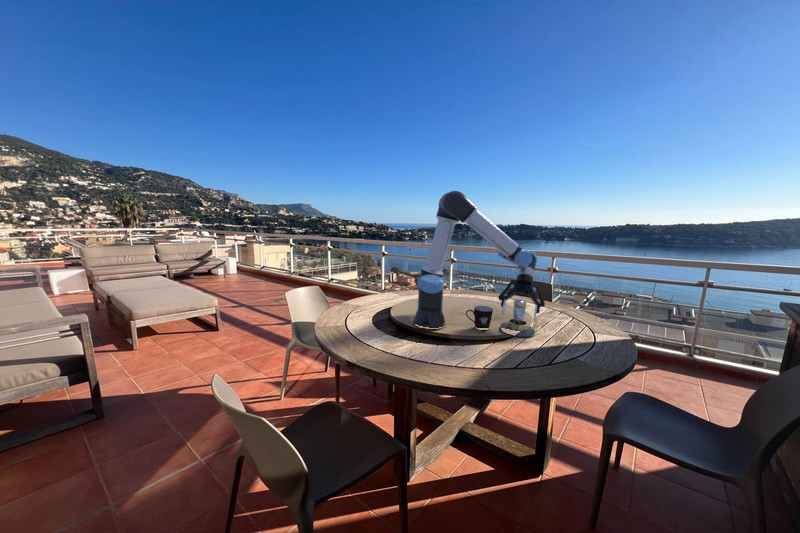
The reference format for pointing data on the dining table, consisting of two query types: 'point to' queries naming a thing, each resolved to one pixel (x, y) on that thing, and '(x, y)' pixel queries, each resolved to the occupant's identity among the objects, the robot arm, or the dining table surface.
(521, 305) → the salt shaker
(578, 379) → the dining table surface
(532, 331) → the socket plate
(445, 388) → the dining table surface
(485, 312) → the coffee mug
